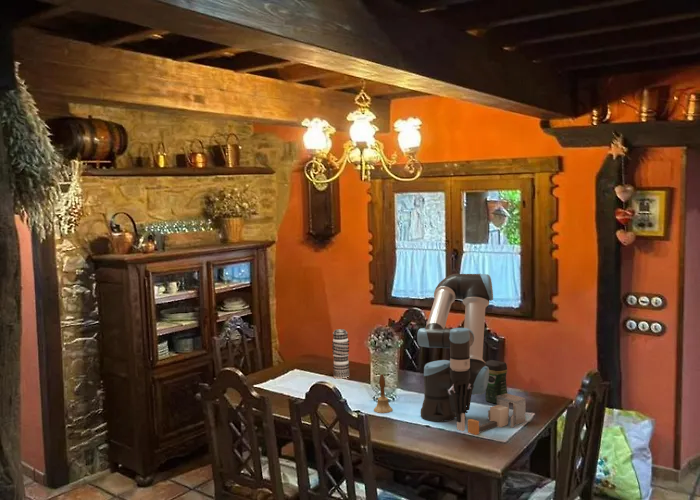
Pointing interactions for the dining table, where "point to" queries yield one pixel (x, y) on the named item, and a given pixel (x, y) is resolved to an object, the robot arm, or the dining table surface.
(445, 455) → the dining table surface
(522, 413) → the housing
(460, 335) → the robot arm
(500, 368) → the coffee jar
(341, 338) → the decorative candle
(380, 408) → the hand bell
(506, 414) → the plug
